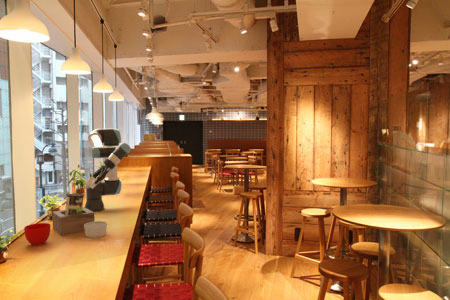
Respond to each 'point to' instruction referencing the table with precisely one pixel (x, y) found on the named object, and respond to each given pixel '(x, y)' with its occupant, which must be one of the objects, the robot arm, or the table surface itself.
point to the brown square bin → (71, 221)
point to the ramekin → (95, 229)
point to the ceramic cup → (37, 233)
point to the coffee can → (74, 204)
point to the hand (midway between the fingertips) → (88, 186)
